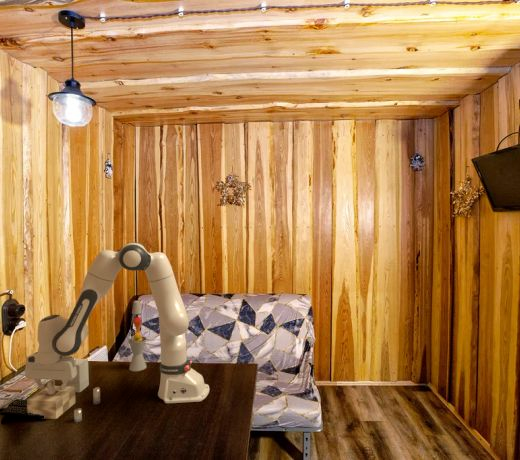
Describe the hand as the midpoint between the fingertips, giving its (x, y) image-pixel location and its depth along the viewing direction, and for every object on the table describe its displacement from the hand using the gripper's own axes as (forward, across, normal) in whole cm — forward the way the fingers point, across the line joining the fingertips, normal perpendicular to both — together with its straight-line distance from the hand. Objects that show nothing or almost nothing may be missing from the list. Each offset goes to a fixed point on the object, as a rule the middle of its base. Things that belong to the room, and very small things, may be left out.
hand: (51, 389), depth 143 cm
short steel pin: (+9, -15, +6) cm, 18 cm away
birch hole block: (+9, 0, 0) cm, 9 cm away
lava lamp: (+9, -17, -42) cm, 46 cm away
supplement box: (+9, +1, -18) cm, 20 cm away
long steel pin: (+9, 0, 0) cm, 9 cm away
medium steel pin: (+9, -15, -7) cm, 19 cm away
